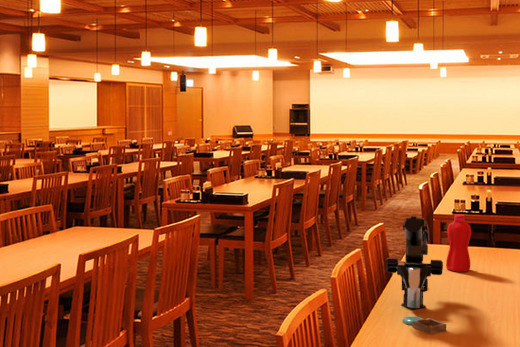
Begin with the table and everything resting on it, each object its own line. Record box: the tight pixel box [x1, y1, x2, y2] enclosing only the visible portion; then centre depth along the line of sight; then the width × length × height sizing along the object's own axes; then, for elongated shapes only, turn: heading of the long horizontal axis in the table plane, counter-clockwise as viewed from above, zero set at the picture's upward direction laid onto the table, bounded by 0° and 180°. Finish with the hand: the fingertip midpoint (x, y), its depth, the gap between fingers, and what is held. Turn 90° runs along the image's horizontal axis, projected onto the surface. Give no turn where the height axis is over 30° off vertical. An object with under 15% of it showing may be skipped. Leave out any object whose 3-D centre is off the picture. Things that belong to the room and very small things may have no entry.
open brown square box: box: [412, 317, 447, 335], centre depth 211 cm, size 8×8×2 cm
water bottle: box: [445, 213, 472, 273], centre depth 288 cm, size 9×11×25 cm
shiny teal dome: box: [402, 316, 423, 326], centre depth 218 cm, size 7×7×1 cm
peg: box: [407, 267, 421, 309], centre depth 217 cm, size 4×4×13 cm
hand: (414, 288), depth 215 cm, fingers closed on peg, 4 cm apart
